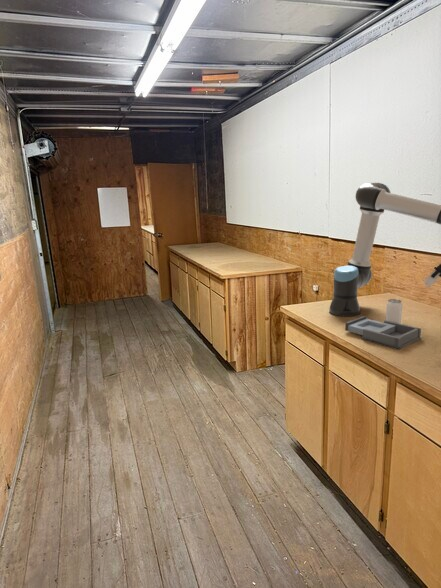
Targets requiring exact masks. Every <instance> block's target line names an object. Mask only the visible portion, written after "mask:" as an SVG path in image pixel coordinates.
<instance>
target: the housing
mask: <svg viewBox="0 0 441 588" xmlns="http://www.w3.org/2000/svg"><path fill="white" fill-rule="evenodd" d="M383 323H387V324H391V325H395V326H396V329H395V332H393V333H390V334H384V333H380V332H376V331H372V330H369V329H363V335H362V336H361V340H363V341H367V342H369V343H373V344H377V345H381V346H384V347H387V348H390V349H391V348H392V349H393V350H394V349H395V350H397V351H398V350H401V349H403V348H406V347H407V346H409V345H411V344H413V343H415V342H417V341H419V340H421V336H422V328H420V327H417V326H412V325H408V324H404V323H401V324H400V323H396V322H391V321H387V320H386V319H385V320H384V321H383Z"/></svg>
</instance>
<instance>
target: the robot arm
mask: <svg viewBox="0 0 441 588" xmlns="http://www.w3.org/2000/svg"><path fill="white" fill-rule="evenodd" d="M355 201H356V203H357V204H358V205H359V210H360V212H361V216H360V221H359V226H358V230H357V234H356V240H355V242H354V243H355V244H354V249H353V253H352V258H350V259H349V260H348V261H347V262H348V263H347V265H343V266H337V267H336V268H335V269H334V273H333V296H332V300H331V303H330V306H329V308H328V309H329V313H330V314H332V315H335V316H339V317H355V316H359V315H360V314H361V307H360V304H359V300H358V289H359V288H362V287H364V286H366V285H367V284H369V283H370V281H371V279H372V276H373V275H372V274H373V273H372V270H371V269H372V263H371V262H370V257H371V256H372V255H371V254H372V249H373V246H374V242H375V237H376V234H377V228H378V224H379V220H380V216H381V215H382V214H384V212H385V211H388V212H393V213H396V214H400V215H404V216H408V217H412V218H416V219H420V220H422V221H423V220H424V221H427V222H431V223H435V224H438V225H441V204H438V203H433V202H430V201H425V200H420V199H417V198H412V197H407V196H404V195H401V194H400V195H399V194H396V193H391V190H390V188H389V186H388V185H386V184H384V183H382V182H366V183H363V184H362V185H360V186H359V187H358V188H357V190H356V192H355ZM440 278H441V263H440V264H439V265H437V266H435V267H434V269H433V271H432V272H431V273H430V274H429V275H428V276H426V278H425V279H424V280H423V282H424V285H426V286H427V287H428V288H430V287H432V285H433V284H435V283H436V282H437V280H439V279H440Z"/></svg>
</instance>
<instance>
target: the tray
mask: <svg viewBox="0 0 441 588" xmlns="http://www.w3.org/2000/svg"><path fill="white" fill-rule="evenodd" d="M344 324H345V325H344V326H345V327H344V331H346V332H351V333H354V334H357V335H361V336H363V329H369V330H372V331H376V332H380V333H384V334H390V333H393V332H395V329H396V326H395V325H391V324H387V323H384V321H383V322H382V321H378V320H374V319H370V318H368V316H367V315H363V316H361V317H358V318H354V319H351V320H349V321H345V323H344Z"/></svg>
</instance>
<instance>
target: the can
mask: <svg viewBox="0 0 441 588" xmlns="http://www.w3.org/2000/svg"><path fill="white" fill-rule="evenodd" d="M385 309H386V311H385V320H387V321H391V322H396V323H400V324H402V318H403V317H402V314H403V303H402V299H401V300H400V299H397V298H396V299H395V298H393V299H392V298H391V299H390V298H389V299H388V300H387V302H386V308H385Z"/></svg>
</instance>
